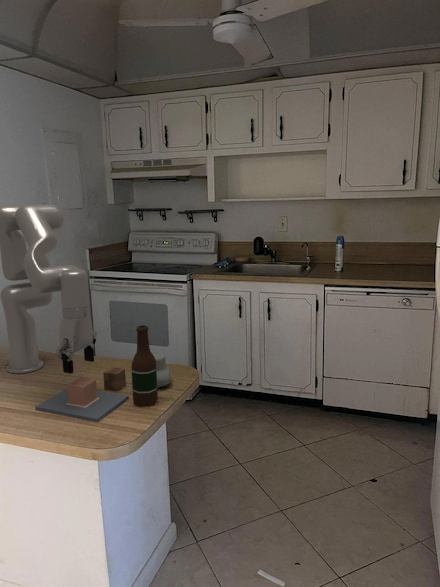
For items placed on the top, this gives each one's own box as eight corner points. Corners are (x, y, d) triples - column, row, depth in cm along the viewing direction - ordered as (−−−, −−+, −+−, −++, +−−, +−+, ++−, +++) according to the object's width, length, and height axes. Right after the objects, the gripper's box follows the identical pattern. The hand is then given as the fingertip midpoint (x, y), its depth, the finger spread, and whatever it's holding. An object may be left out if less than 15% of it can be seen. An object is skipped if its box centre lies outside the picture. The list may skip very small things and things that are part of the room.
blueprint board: (35, 409, 131) (35, 406, 131) (71, 388, 145) (71, 385, 145) (97, 422, 123) (97, 418, 123) (128, 398, 138) (128, 395, 138)
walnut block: (104, 389, 145) (103, 372, 144) (113, 383, 150) (112, 367, 148) (117, 391, 143) (116, 374, 142) (125, 385, 148) (125, 368, 147)
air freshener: (169, 390, 144) (168, 361, 142) (143, 391, 143) (142, 362, 141) (169, 377, 154) (169, 350, 152) (146, 378, 154) (144, 351, 152)
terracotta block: (68, 403, 132) (66, 384, 131) (81, 395, 138) (79, 377, 137) (84, 406, 130) (83, 387, 129) (97, 398, 136) (96, 379, 135)
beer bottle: (137, 409, 131) (133, 331, 126) (129, 399, 137) (125, 325, 132) (162, 403, 134) (159, 327, 129) (153, 394, 141) (150, 321, 136)
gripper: (84, 303, 138) (87, 355, 142) (44, 317, 122) (48, 375, 126) (104, 306, 135) (106, 358, 139) (66, 321, 119) (70, 379, 123)
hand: (79, 366), depth 132 cm, fingers open, 9 cm apart
